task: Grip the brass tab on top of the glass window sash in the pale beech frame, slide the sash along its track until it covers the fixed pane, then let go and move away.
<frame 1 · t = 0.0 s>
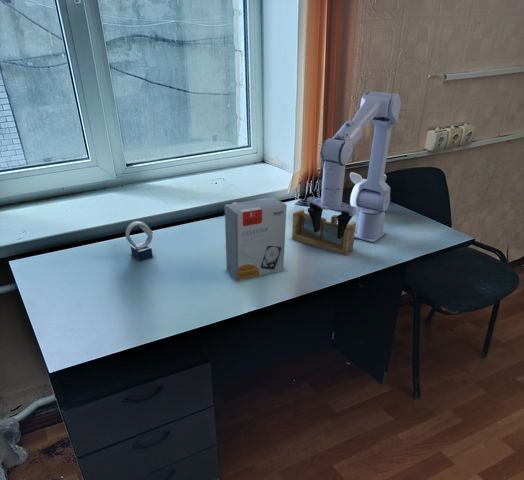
hand: (328, 234, 138), 10 cm above the table, tool pointing down, fingers open, 7 cm apart
piggy bank: (362, 214, 180), on the table
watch: (142, 256, 149), on the table
window frame: (321, 244, 157), on the table
hard drive box: (255, 271, 142), on the table
sash: (333, 230, 151), point 6 cm above the table, slide at 0.0 cm
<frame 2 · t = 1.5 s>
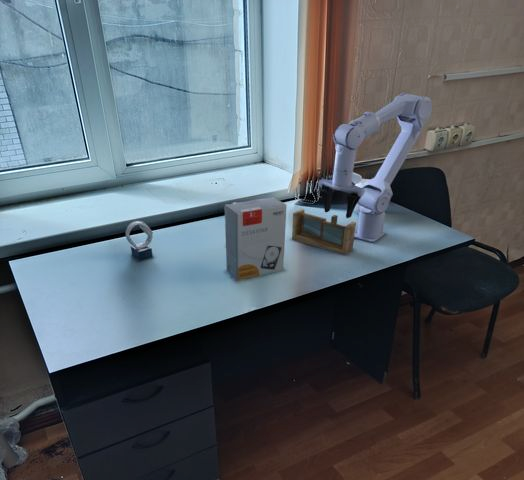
hand: (337, 214, 150), 10 cm above the table, tool pointing down, fingers open, 7 cm apart
nothing on the table moved.
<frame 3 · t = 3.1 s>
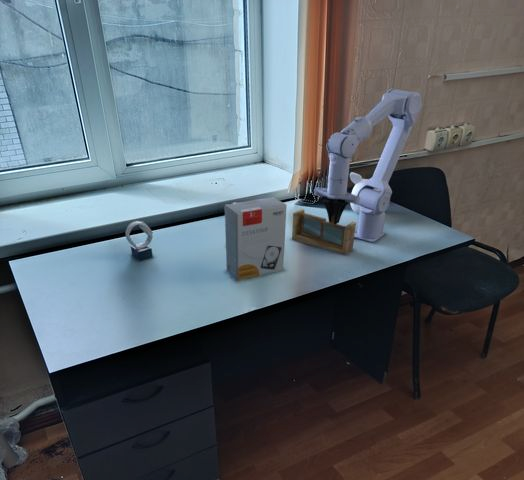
hand: (333, 222, 149), 9 cm above the table, tool pointing down, fingers closed on sash
sash: (333, 230, 151), point 6 cm above the table, slide at 0.0 cm, touching gripper
everything else where it was.
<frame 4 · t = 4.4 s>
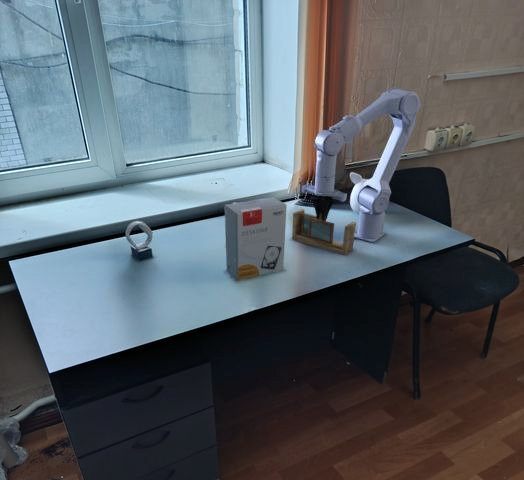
hand: (321, 219, 151), 9 cm above the table, tool pointing down, fingers closed on sash
sash: (321, 227, 153), point 6 cm above the table, slide at 4.4 cm, touching gripper
everything else where it was.
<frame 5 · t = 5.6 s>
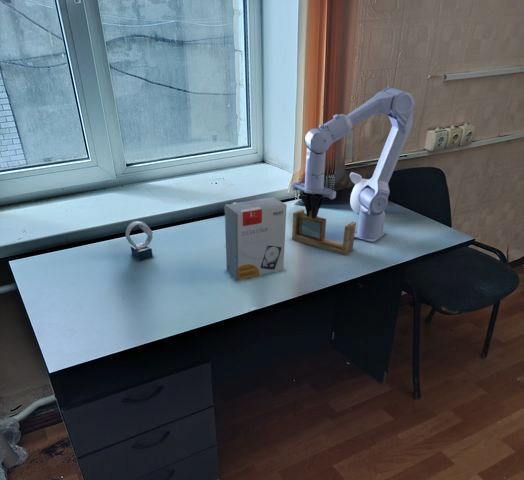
hand: (311, 216, 153), 9 cm above the table, tool pointing down, fingers closed on sash
sash: (311, 224, 155), point 6 cm above the table, slide at 8.0 cm, touching gripper
everything else where it was.
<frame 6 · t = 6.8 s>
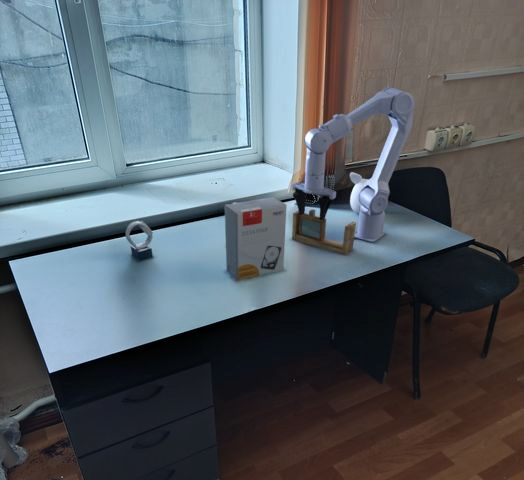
hand: (311, 216, 153), 9 cm above the table, tool pointing down, fingers open, 7 cm apart
sash: (311, 224, 155), point 6 cm above the table, slide at 8.0 cm
everything else where it was.
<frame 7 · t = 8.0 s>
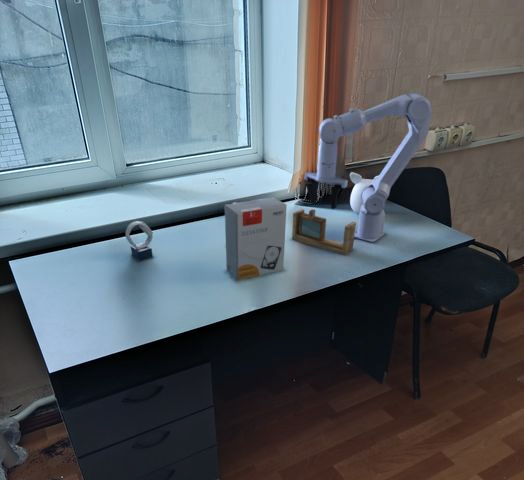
hand: (323, 205, 157), 10 cm above the table, tool pointing down, fingers open, 7 cm apart
nothing on the table moved.
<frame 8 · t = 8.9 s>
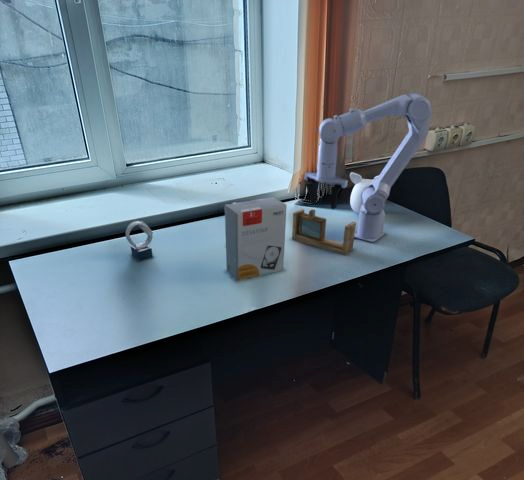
hand: (323, 205, 157), 10 cm above the table, tool pointing down, fingers open, 7 cm apart
nothing on the table moved.
at the end: sash slide at 8.0 cm; the gripper is holding nothing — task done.
